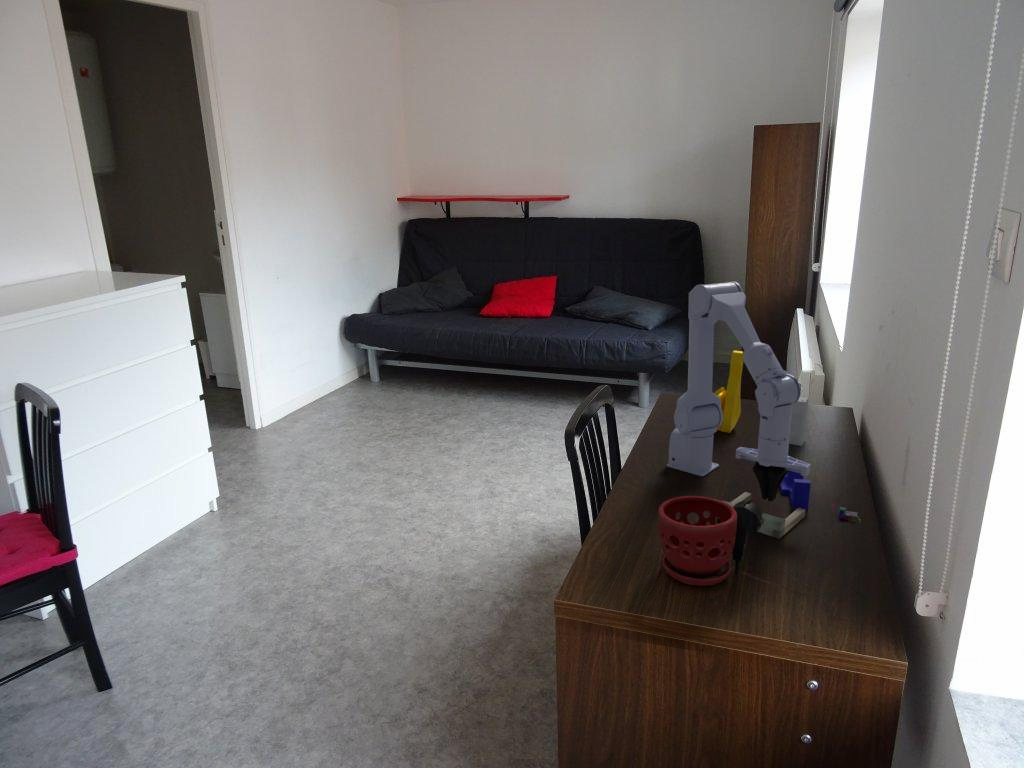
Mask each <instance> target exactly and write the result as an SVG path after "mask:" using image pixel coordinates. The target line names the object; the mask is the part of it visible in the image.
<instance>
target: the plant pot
mask: <svg viewBox="0 0 1024 768" xmlns="http://www.w3.org/2000/svg"><path fill="white" fill-rule="evenodd" d="M723 501H724V500H720V499H717V498H713V497H708V496H702V495H683V496H677V497H674V498H670V499H668V500H666V501H664V502H662V503H661V504H660V505H659V508H658V511H657V512H658V514H657V519H658V520H657V521H658V522H657V527H658V536H659V541H660V546H661V548H662V552H663V553H664V556H663V557H662V566H663V569H664V570H665V572H666V573H667V574H668V575H669V576H671V578H673V579H675V580H676V581H679V582H681V583H683V584H687V585H691V586H698V587H699V586H701V587H702V586H705V587H706V586H713V585H716V584H719V583H721V582H723V581H724V580H725V579H727V578H728V577H729V575H730V574H731V571H732V569H733V568H732V563H731V561H730V558H731V556H732V554H733V553H732V551H733V548H734V544H735V538H736V531H737V513H736V511H735V509H734V508H733V507H732V506H730V505H729V504H727V503H725V502H723ZM704 512H708V513H709V516H705V515H704ZM678 513H679V514H680V515H679V517H676V514H678ZM689 514H696V515H697V516H698V521H697V522H695V523H694V522H691V521H689V519H688V516H689ZM719 518H720V519H719ZM716 519H719V520H720V523H718V522H717V520H716ZM727 520H728V521H727ZM707 523H710V525H707Z"/></svg>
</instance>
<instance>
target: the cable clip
mask: <svg viewBox="0 0 1024 768" xmlns="http://www.w3.org/2000/svg"><path fill="white" fill-rule="evenodd" d="M799 460H800V459H799ZM800 461H802V462H804V460H800ZM779 488H780V492H781V495H786V496H787V495H788V496H789V500H790V503H791V507H792V508H793V509H797V508H802V509H806V510H808V509H809V503H810V502H809V501H810V493H811V481H810V479H804V476H803V475H801V474H800V473H797V472H793V471H788V473H787V474H786V476H785V477H784V479H783V481H782V482H781V484H780V487H779Z"/></svg>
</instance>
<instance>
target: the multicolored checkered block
mask: <svg viewBox="0 0 1024 768" xmlns="http://www.w3.org/2000/svg"><path fill="white" fill-rule="evenodd" d="M838 519H840V520H845V521H846V520H847V522H848V523H856V524H862V519H861V518H860V517H859V516H858V512H857V511H851V510H850V511H848V510H847V508H846V507H842V506H840V507H839V511H838Z"/></svg>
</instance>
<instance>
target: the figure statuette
mask: <svg viewBox="0 0 1024 768" xmlns="http://www.w3.org/2000/svg"><path fill="white" fill-rule="evenodd" d="M743 354H744V351H740V350H733V351H732V352H731V359H730V364H729V365H730V366H729V375H728V380H727V384H726V385H727V386H726V389H725V387H723V386H721V387H720V388H718V389H717V390H716V391H715V392H713V393H714V394H715V395H717V396H718V397H719V398H720V400H721V401H720V405H721V410H722V413H723V420H722V423H721V425H720V426H719V427H718V428H717V431H718V430H719V431H720V432H722V433H729V434H731V433H732V431H733V429H734V428H735V426H736V424H737V422H738V420H739V418H740V417H741V411H742V409H741V405H742V404H741V390H742V389H741V385H742V374H743V368H744V367H743V366H744V361H743Z"/></svg>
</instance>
